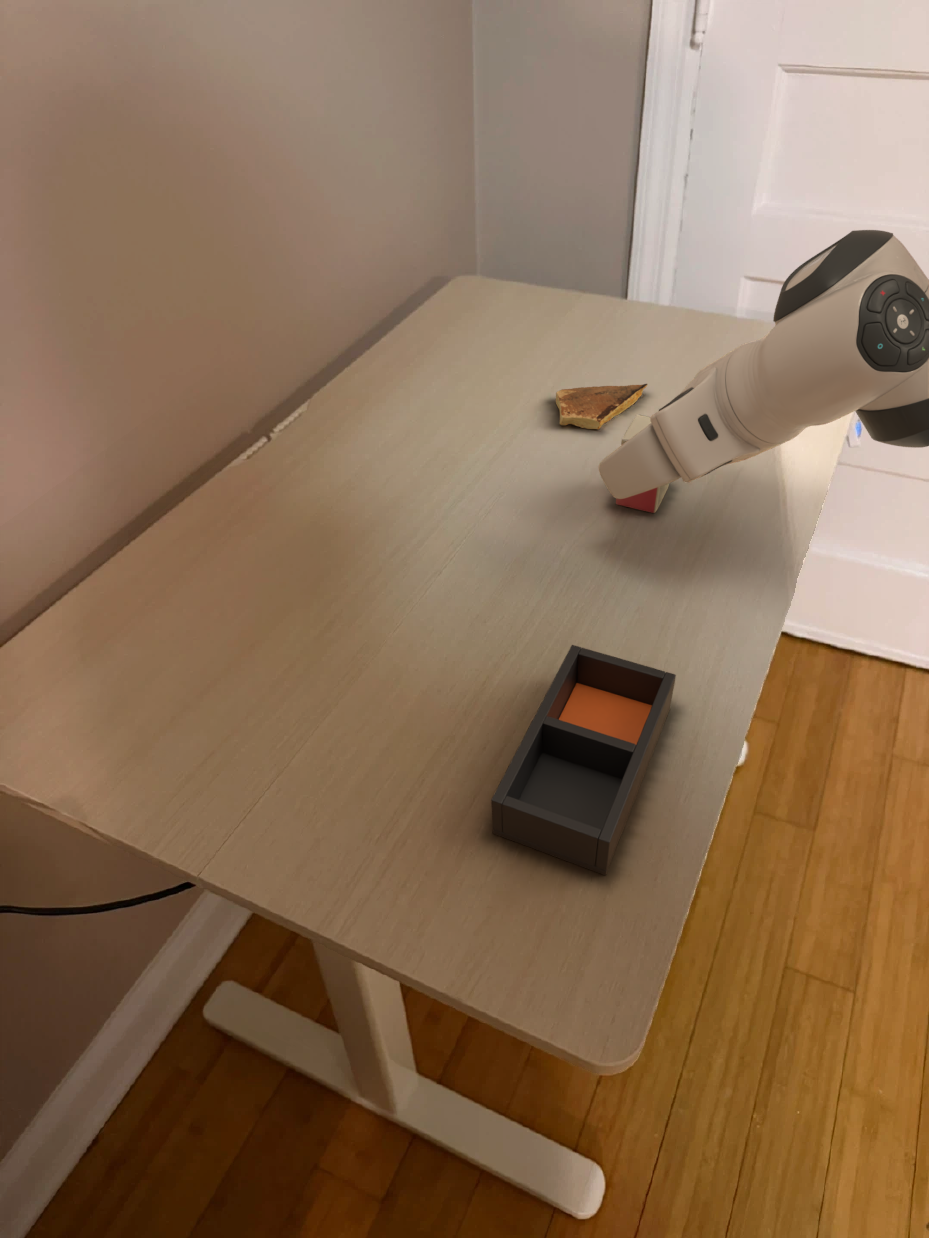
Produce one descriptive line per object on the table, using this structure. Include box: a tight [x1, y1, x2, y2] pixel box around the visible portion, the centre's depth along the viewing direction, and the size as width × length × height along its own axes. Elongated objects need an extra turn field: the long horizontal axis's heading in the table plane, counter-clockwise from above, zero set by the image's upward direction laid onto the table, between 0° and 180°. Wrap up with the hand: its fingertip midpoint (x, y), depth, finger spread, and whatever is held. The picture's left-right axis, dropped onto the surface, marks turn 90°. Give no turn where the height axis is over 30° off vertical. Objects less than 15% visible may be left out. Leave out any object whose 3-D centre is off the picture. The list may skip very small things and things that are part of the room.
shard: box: [555, 383, 648, 430], centre depth 102 cm, size 11×8×2 cm
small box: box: [615, 414, 670, 514], centre depth 88 cm, size 5×4×8 cm
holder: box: [490, 644, 677, 876], centre depth 65 cm, size 8×16×4 cm, turn 155°
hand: (641, 457), depth 88 cm, fingers closed on small box, 6 cm apart
